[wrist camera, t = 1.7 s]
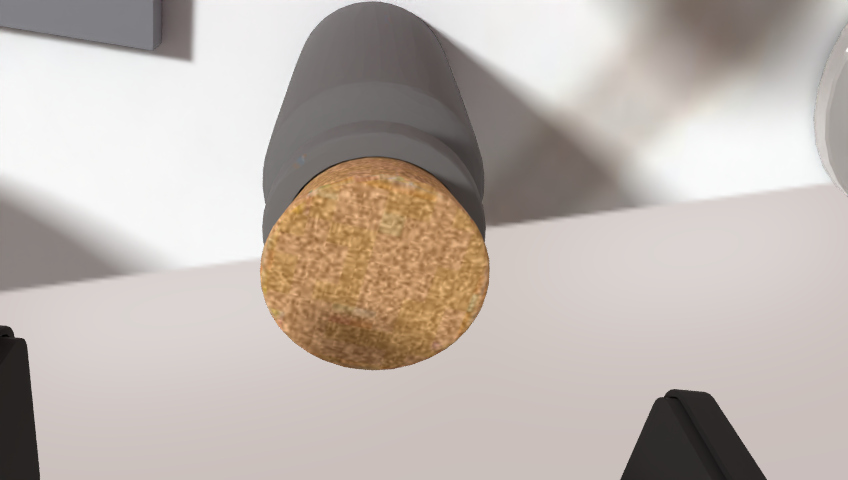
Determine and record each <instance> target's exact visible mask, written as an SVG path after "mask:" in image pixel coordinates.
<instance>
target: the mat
mask: <svg viewBox="0 0 848 480" xmlns="http://www.w3.org/2000/svg"><path fill="white" fill-rule="evenodd" d="M0 26H4V27H10V28H16V29H22V30H29V31H35V32H41V33H47V34H53V35H60V36H66V37H72V38H78V39H84V40H90V41H97V42H103V43H109V44H115V45H121V46H127V47H134V48H140V49H146V50H152V51H153V50H154V49H155V48H156V47H157V46H159V45H160V44H161V43H162V0H0Z"/></svg>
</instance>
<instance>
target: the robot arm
mask: <svg viewBox="0 0 848 480" xmlns="http://www.w3.org/2000/svg"><path fill="white" fill-rule="evenodd" d="M814 128H815V141H816V146H817V149H818V152H819V156H820V159H821V162H822V165H823V167H824V169H825V170H826V172H827V173H828V175H829V177H830V178H831V180H832V181H833V183H834V184H835V185H836V186H837V187H838V188H839V189H840V190H841V191H842V192H843V193H844V194H846V195H847V196H848V23H847V25H846V26H845V27H844V29H843V30H842V32H841V34H840V36H839V38H838V40H837V42H836V44H835V46H834V48H833V50H832V52H831V54H830V56H829V58H828V60H827V62H826V65H825V68H824V71H823V74H822V78H821V81H820V84H819V87H818V90H817V97H816V105H815V113H814ZM0 480H40V472H39V462H38V451H37V441H36V431H35V422H34V411H33V401H32V391H31V381H30V370H29V361H28V351H27V344H26V341H25V340H24V339H22V338H15V337H14V333H13V331H12V329H11V328H10V327H8V326H0ZM621 480H767V479H766V477H765V476H764V474H763V473H762V471H761V470H760V468H759V467H758V465H757V464H756V462H755V461H754V459H753V458H752V456H751V455H750V453H749V451H748V450H747V448H746V447H745V445H744V444H743V442H742V441H741V439H740V438H739V436H738V435H737V433H736V432H735V430H734V428H733V427H732V425H731V424H730V422H729V421H728V419H727V418H726V416H725V415H724V413H723V412H722V410H721V409H720V407H719V405H718V404H717V402H716V401H715V399H714V398H713V397H712V396H711V395H710V394H708V393H706V392H699V391H688V390H677V389H673V390H670V391H668V392H667V393H666V395H665V396H664V397H660V398H658V399H657V400H656V401H655V403H654V404H653V406H652V409H651V411H650V413H649V416H648V418H647V420H646V422H645V425H644V427H643V429H642V432H641V434H640V436H639V438H638V441H637V443H636V445H635V448H634V450H633V452H632V455H631V457H630V459H629V461H628V463H627V466H626V468H625V470H624V473H623V475H622V477H621Z"/></svg>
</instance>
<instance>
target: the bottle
mask: <svg viewBox="0 0 848 480" xmlns="http://www.w3.org/2000/svg"><path fill="white" fill-rule="evenodd" d="M263 191H264V198H265V204H266V206H265V210H264V216H263V226H262V228H263V242H264V248H263V253H262V258H261V268H260V276H261V287H262V291H263V294H264V298H265V301H266V304H267V306H268V309H269V311H270V313H271V315H272V317H273V318H274V320H275V321H276V323H277V324H278V326H279V327H280V328H281V329H282V330H283V332H284V333H285V334H286V335H287V336H288V337H289V338H290V339H291V340H292V341H293V342H294V343H296V344H297V345H298V346H300V347H301V348H303V349H304V350H306V351H307V352H309V353H310V354H312V355H314V356H316V357H318V358H320V359H322V360H325V361H328V362H331V363H334V364H337V365H340V366H343V367H348V368H355V369H365V370H385V369H395V368H399V367H403V366H408V365H412V364H415V363H418V362H420V361H423V360H426V359H428V358H430V357H432V356H434V355H436V354H438V353H439V352H441V351H443V350H445V349H446V348H448V347H449V346H450V345H451V344H453V343H454V342H455V341H456V340H457V339H458V338H459V337H460V336H461V335H462V334H463V333H464V332H465V331H466V330H467V329H468V328H469V326H470V325H471V324H472V322H473V321H474V320H475V318H476V317H477V315H478V313H479V311H480V310H481V307H482V305H483V302H484V299H485V296H486V293H487V289H488V285H489V257H488V253H487V249H486V246H485V243H484V242H485V230H486V226H485V217H484V210H483V205H482V198H483V193H484V172H483V163H482V158H481V155H480V151H479V148H478V144H477V141H476V137H475V134H474V131H473V129H472V126H471V123H470V120H469V117H468V115H467V112H466V109H465V106H464V103H463V101H462V98H461V95H460V92H459V90H458V87H457V85H456V82H455V79H454V77H453V74H452V71H451V69H450V66H449V64H448V61H447V58H446V56H445V54H444V51H443V49H442V47H441V45H440V43H439V42H438V40H437V38H436V36H435V35H434V34H433V32H432V31H431V30H430V28H429V27H428V26H427V25H426V24H425V23H424V22H423V21H422V20H420V19H419V18H418V17H417V16H415V15H414V14H413V13H411V12H409V11H407V10H405V9H403V8H401V7H398V6H395V5H392V4H388V3H383V2H362V3H355V4H352V5H349V6H346V7H343V8H341V9H338V10H336V11H335V12H333V13H332V14H330V15H329V16H327V17H326V18H325V19H324V20H322V21H321V22H320V23H319V24H318V25H317V27H316V28H315V29H314V30H313V31H312V33H311V34H310V36H309V38H308V39H307V41H306V43H305V45H304V47H303V49H302V51H301V54H300V56H299V59H298V61H297V64H296V67H295V69H294V72H293V75H292V78H291V81H290V83H289V86H288V89H287V92H286V95H285V98H284V101H283V104H282V107H281V109H280V112H279V115H278V118H277V121H276V124H275V127H274V130H273V133H272V136H271V139H270V143H269V146H268V149H267V153H266V157H265V162H264V168H263Z"/></svg>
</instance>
